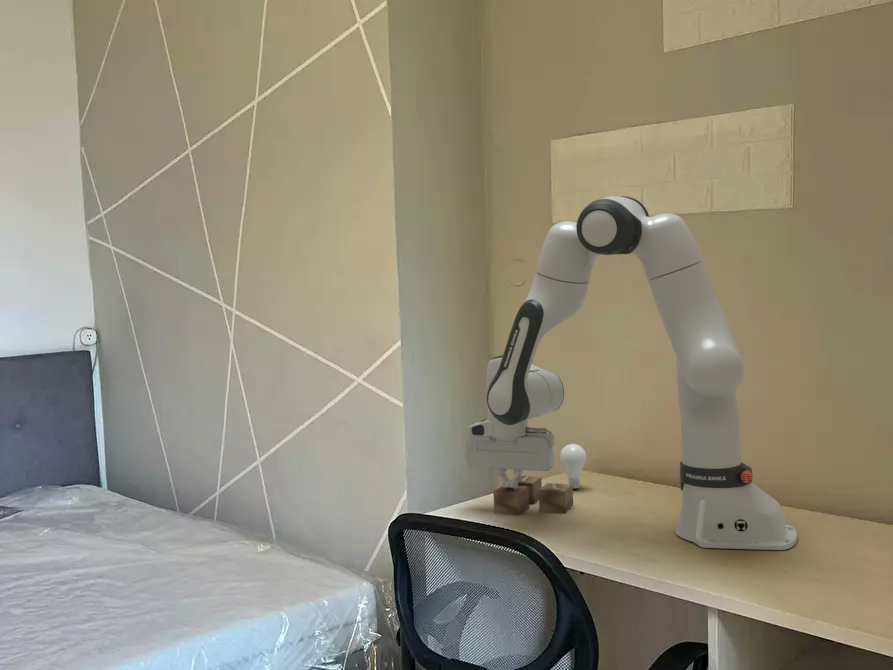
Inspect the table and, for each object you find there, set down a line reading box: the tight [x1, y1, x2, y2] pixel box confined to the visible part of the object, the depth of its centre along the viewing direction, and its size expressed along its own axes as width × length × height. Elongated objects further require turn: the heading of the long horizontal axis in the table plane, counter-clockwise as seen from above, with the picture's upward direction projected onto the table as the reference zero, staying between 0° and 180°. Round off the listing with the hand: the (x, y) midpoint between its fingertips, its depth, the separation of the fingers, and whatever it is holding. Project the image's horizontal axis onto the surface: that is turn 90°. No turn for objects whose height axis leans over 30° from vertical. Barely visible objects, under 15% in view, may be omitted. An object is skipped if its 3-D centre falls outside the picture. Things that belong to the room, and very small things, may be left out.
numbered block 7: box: [538, 482, 574, 514], centre depth 196 cm, size 6×6×5 cm
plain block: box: [493, 485, 530, 516], centre depth 197 cm, size 6×6×5 cm
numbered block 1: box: [512, 475, 543, 505], centre depth 205 cm, size 6×6×5 cm
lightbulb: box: [559, 443, 587, 490], centre depth 212 cm, size 6×6×11 cm
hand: (510, 488), depth 196 cm, fingers closed
